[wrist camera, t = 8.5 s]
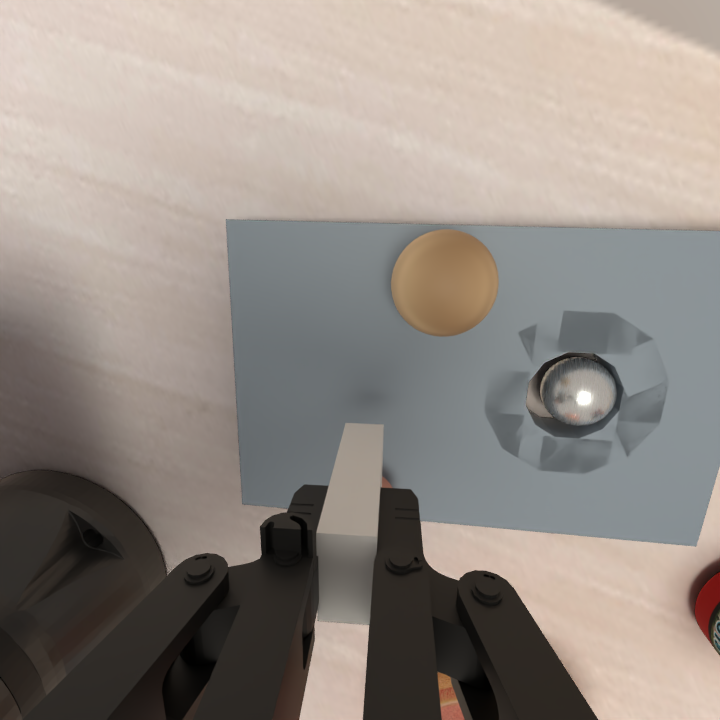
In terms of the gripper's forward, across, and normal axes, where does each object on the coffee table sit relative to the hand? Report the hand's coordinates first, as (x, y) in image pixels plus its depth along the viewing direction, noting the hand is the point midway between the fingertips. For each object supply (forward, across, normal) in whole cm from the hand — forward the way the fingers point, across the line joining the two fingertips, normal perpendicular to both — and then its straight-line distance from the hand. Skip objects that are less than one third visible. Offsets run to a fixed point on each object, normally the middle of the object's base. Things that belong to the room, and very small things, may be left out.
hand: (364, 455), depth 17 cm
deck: (+8, +5, +1) cm, 10 cm away
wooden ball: (+3, +3, +6) cm, 8 cm away
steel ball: (+6, +10, +1) cm, 12 cm away
